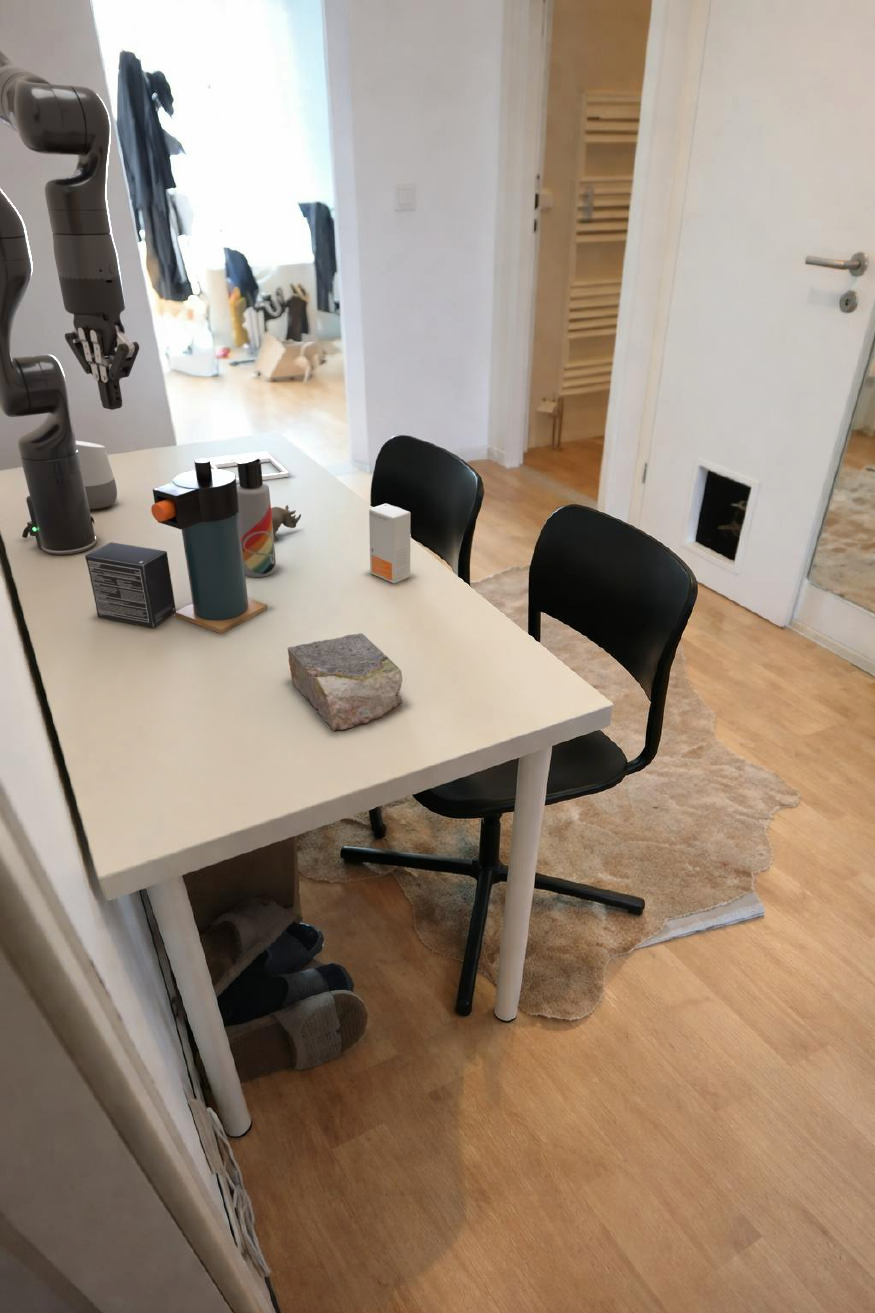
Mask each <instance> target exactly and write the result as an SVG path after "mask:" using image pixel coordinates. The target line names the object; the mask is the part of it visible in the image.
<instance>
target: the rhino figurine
mask: <svg viewBox="0 0 875 1313" xmlns="http://www.w3.org/2000/svg"><path fill="white" fill-rule="evenodd" d="M296 512H297V510H296V509H295V510H292V511H291V510H290V509H289V505H288V504H287V505H286V506H285V507H284V508H283V507H280V506H273V507H271V514H272V525H273V536H274V542H276V541H278V540H279V538H278V537H277V536H276V534H277V533H278V531H279V528H281V525H283V526H284V527H286V528H290V529H296V527H297V524H298V522H299V521H300V520H301V517H302V513H300V514H299V515H298V516H297V515H296V514H295V513H296ZM296 516H297V517H296Z"/></svg>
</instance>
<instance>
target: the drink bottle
mask: <svg viewBox="0 0 875 1313" xmlns="http://www.w3.org/2000/svg"><path fill="white" fill-rule="evenodd" d="M193 463H194V470H188V471H185V472H181V473H179V474H177V475H175V476H174V477H173V479H172V482H169V483H166V484H164V485H161V486H159V487H154V488H152V494H153V495H152V496H153V502H154V504H155V503H158V502H161V501H163V500H166V499H170V500H174V506H175V512H176V517H173V518H171V519H168V520H165V521H163V522H159V521H157V523H159V524H162V525H165V526H169V527H172V528H174V529H178V530H181V535H182V541H183V549H184V555H185V562H186V570H187V574H188V575H187V576H188V582H189V588H190V597H191V602H192V603H193V610H194V613H195V614H196V615H197V616H198V617H200V618H202V619H206V620H227V619H232V618H235V617H238V616H240V615H242V614H243V613H245V612H246V611H247V609H248V606H249V604H248V598H249V597H248V587H247V578H246V574H245V568H244V559H243V550H242V541H241V532H240V523H239V514H238V512H239V502H238V492H237V485H238V483H236V478H237V476H236V474H235V473H233V472H232V471H228V470H225V469H220V468H217V469H211V463H210V459H206V458H205V457H204V458H203V457H201V458H197V459H195V460H194V462H193ZM192 603H191V604H192Z"/></svg>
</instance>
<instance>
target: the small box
mask: <svg viewBox="0 0 875 1313" xmlns="http://www.w3.org/2000/svg"><path fill="white" fill-rule="evenodd" d="M84 558H85V562H86V565H87V569H88V574H89V579H90V585H91V588H92V593H93V598H94V604H95V608H96V614H97V615H96V616H97V618H100V619H104V620H105V619H106V620H110V621H114V622H119V623H120V622H121V623H125V624H132V625H136V626H141V627H147V628H151V629H154V628H156V627H157V626H158V625H160V624H161V623H162V622H164V621H166V620H167V619H168V618H169V617H171V616H173V615H175V612H176V611H177V609H176V602H175V595H174V590H173V582H172V577H171V571H170V562H169V557H168V550H163V549H156V548H150V547H149V548H148V547H143V546H137V545H131V544H126V543H125V544H124V543H119V542H109V543H106V544H105V545H102V546H100V547H99V548H97V549H94V550H93V551H90V552H89V553H87V554H85V556H84Z"/></svg>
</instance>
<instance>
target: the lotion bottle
mask: <svg viewBox="0 0 875 1313" xmlns="http://www.w3.org/2000/svg"><path fill="white" fill-rule="evenodd" d="M262 475H263V470H262V463H261V461H260V459H259V458H258V457H246V458H243V459H241V460H239V461H238V462H237V476H238V478H239V483H238V484H237V492H238V502H239V512H238V514H239V523H240V532H241V541H242V550H243V559H244V568H245V576H248V577H251V578H265V577H268V576H271V575H273V574H274V573H275V572H276V570H277V561H276V559H277V558H276V548H275V541H274V536H273V525H272V514H271V508H272V504H271V495H270V494H271V493H270V487H269V485H268V484H266V483H264V482H263V481H264V480H262Z"/></svg>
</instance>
